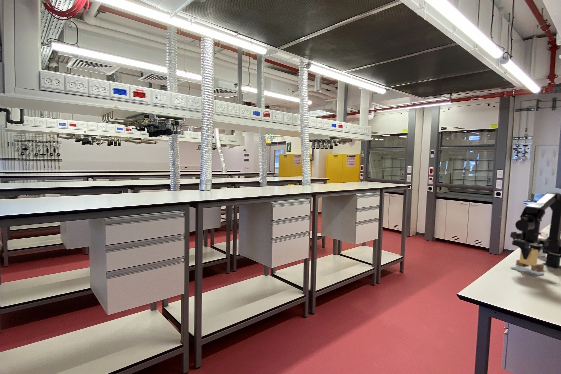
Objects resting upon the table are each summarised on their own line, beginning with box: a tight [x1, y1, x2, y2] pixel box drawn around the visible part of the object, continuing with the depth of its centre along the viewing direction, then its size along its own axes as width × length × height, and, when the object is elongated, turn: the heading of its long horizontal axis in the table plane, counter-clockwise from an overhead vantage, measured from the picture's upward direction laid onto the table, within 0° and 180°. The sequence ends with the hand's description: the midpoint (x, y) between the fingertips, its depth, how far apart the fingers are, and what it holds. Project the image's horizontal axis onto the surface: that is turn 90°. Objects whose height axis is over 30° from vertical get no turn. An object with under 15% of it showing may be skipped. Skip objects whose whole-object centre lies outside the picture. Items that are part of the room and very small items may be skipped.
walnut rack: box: [515, 259, 545, 271], centre depth 163 cm, size 8×9×3 cm
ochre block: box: [519, 248, 539, 267], centre depth 155 cm, size 5×5×8 cm
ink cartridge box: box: [538, 230, 549, 258], centre depth 187 cm, size 9×5×15 cm, turn 168°
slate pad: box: [510, 265, 545, 277], centre depth 156 cm, size 8×11×1 cm
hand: (528, 258), depth 155 cm, fingers closed on ochre block, 5 cm apart
